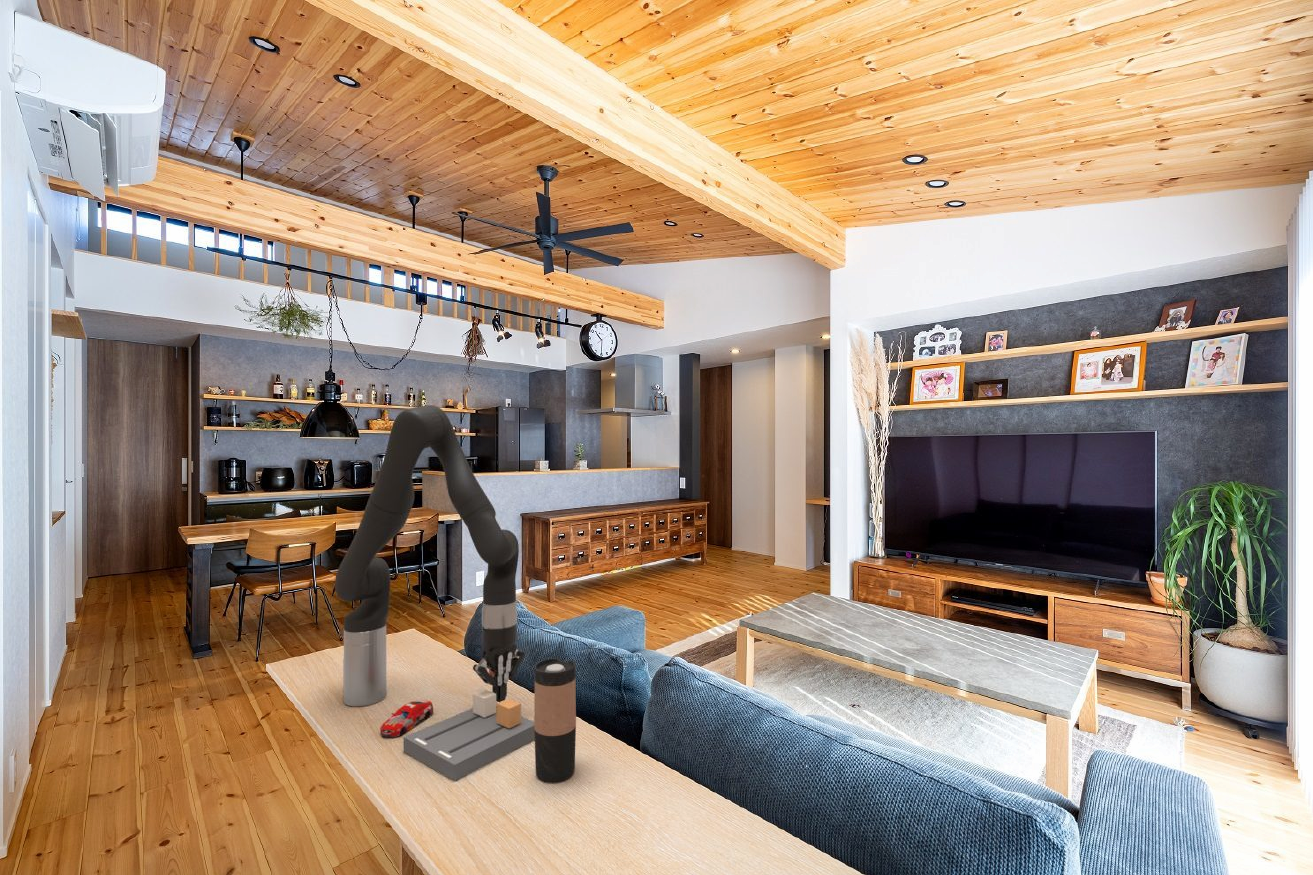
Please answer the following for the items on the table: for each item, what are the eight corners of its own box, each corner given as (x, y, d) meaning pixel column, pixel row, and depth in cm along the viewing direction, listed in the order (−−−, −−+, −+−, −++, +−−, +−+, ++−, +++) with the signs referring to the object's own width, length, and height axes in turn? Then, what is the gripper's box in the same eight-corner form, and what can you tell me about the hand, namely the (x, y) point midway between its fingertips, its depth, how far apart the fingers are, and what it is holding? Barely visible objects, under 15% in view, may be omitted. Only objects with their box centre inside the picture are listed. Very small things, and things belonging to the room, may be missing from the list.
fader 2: (496, 722, 125) (496, 703, 125) (508, 717, 127) (508, 698, 127) (509, 728, 123) (509, 708, 123) (520, 722, 125) (520, 703, 125)
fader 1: (473, 712, 130) (472, 693, 130) (484, 707, 132) (484, 689, 132) (484, 717, 127) (484, 698, 127) (496, 712, 130) (496, 693, 130)
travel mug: (541, 788, 107) (541, 675, 107) (529, 767, 114) (529, 661, 114) (581, 777, 111) (581, 668, 111) (568, 757, 118) (567, 655, 118)
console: (403, 752, 120) (403, 736, 120) (486, 715, 136) (486, 701, 136) (454, 781, 110) (454, 764, 110) (538, 737, 126) (538, 722, 126)
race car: (395, 742, 124) (395, 723, 124) (374, 738, 126) (374, 719, 126) (438, 714, 137) (437, 696, 137) (418, 710, 139) (418, 693, 139)
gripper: (511, 612, 141) (512, 686, 141) (463, 626, 130) (463, 706, 130) (533, 617, 136) (534, 694, 136) (485, 632, 126) (485, 716, 126)
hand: (499, 700), depth 133 cm, fingers closed
